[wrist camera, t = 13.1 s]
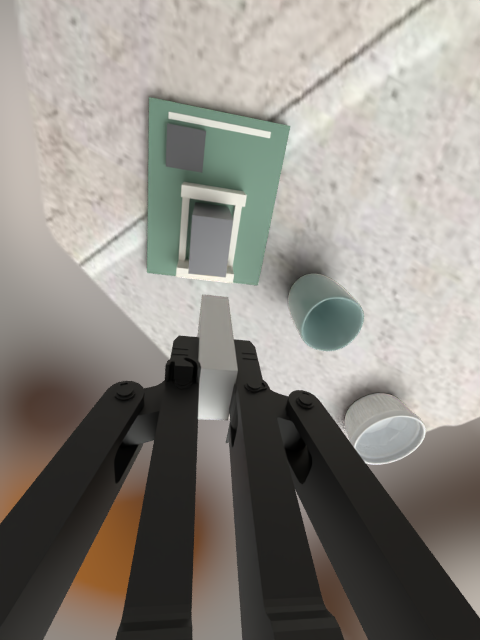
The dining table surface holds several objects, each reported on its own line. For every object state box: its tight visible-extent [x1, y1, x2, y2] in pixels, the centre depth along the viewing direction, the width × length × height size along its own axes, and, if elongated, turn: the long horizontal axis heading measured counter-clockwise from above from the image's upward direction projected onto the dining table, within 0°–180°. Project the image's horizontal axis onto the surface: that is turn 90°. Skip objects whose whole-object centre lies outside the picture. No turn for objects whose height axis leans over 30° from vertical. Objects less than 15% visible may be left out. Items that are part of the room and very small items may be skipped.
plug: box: [188, 202, 233, 277], centre depth 34 cm, size 7×4×8 cm, turn 172°
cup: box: [288, 273, 364, 351], centre depth 40 cm, size 8×8×10 cm
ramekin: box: [345, 393, 426, 465], centre depth 56 cm, size 13×13×7 cm
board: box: [147, 97, 290, 285], centre depth 35 cm, size 19×15×5 cm
